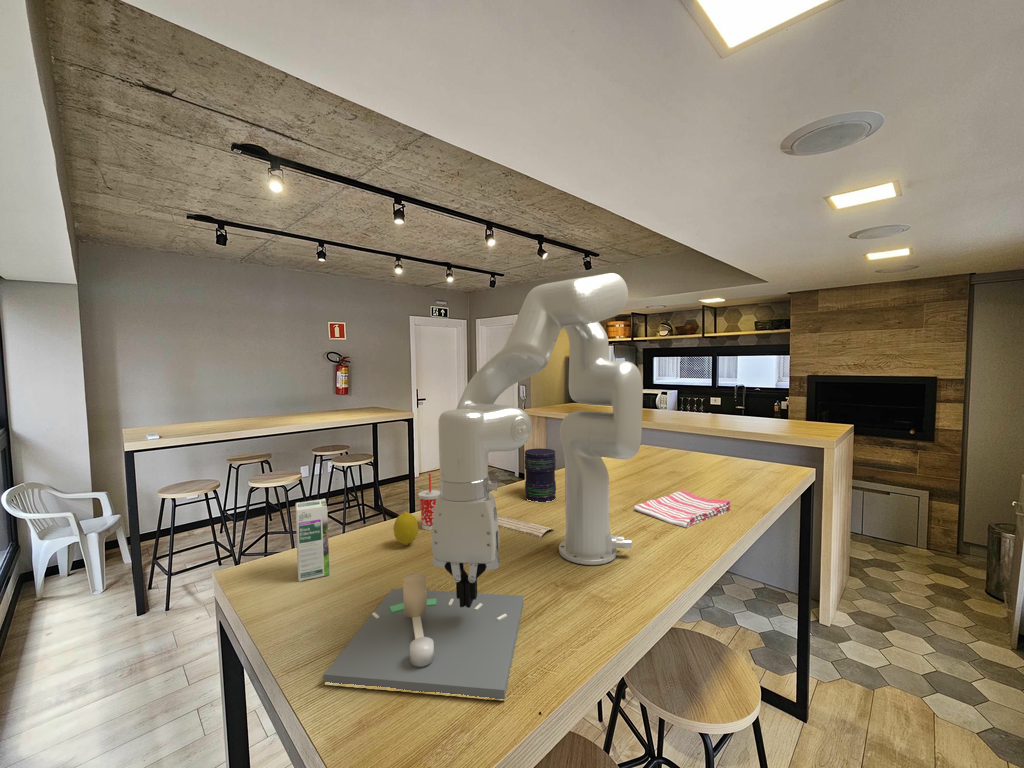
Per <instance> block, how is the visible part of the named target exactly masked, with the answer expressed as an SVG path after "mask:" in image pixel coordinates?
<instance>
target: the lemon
mask: <svg viewBox="0 0 1024 768" xmlns="http://www.w3.org/2000/svg"><path fill="white" fill-rule="evenodd" d="M393 525H394V526H393V534H394V538H395V540H396V541H397V542H398V543H400V544H402V545H404V546H406V547H407V546H409V544H410V543H412V542H414V541H415V539H416V538H417V536H418V532H419V525H418V521H417V518H416V516H415V515H414V514H412V513H410V512H408V511H404V512H403V513H401V514H399V515H398V516H397V517H396V519H395V521H394V524H393Z"/></svg>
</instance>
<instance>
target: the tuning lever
mask: <svg viewBox="0 0 1024 768" xmlns="http://www.w3.org/2000/svg"><path fill="white" fill-rule="evenodd" d="M402 585H403V586H402V589H403V595H404V614H405V615H406V616H407V617H412V622H413V629H414V636H415V640H413V641H412V642H411V643H410V663H411V664H412V665H414V666H417V667H422V666H426V665H428V664H430V663H431V662H432V661H433V659H434V642H433V640H432V639H431V638H429V637H424V635H423V629H422V623H421V617H420V616H421V615H423V614H425V613H426V611H427V590H428V589H427V576H426V575H425V574H423V573H411V574H409V575H406V576H405V577H403V579H402Z"/></svg>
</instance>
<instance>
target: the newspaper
mask: <svg viewBox="0 0 1024 768" xmlns="http://www.w3.org/2000/svg"><path fill="white" fill-rule="evenodd" d="M497 517H498V526H499V527H498V528H501V527H504V528H503V529H505V528H507V529H506V530H509V529H511V530H510V531H513V530H515V531H514V532H516V531H518V532H517V533H520V532H522V533H521V534H524V533H526V534H525V535H527V534H529V536H531V535H533V537H535V536H536V538H538V537H539V539H543V538H542V536H543V535H544V534H545V533H546V532H547V531H549V530H554V531H555V529H554V528H551V527H547V526H543V525H539V524H536V523H531V522H527V521H523V520H520V519H519V520H518V519H515V518H510V517H506V516H502V515H500V514H499V515H498V514H497Z"/></svg>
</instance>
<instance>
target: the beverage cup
mask: <svg viewBox="0 0 1024 768" xmlns="http://www.w3.org/2000/svg"><path fill="white" fill-rule="evenodd" d="M431 475H432V474H431V473H428V489H425V490H422V491H420V492H418V499H419V509H420V519H421V529H422V530H424V529H425V530H424V531H433V530H432V529H433V519H434V510H435V504H436V499H437V497H438V495H440V489H432V479H431Z"/></svg>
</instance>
